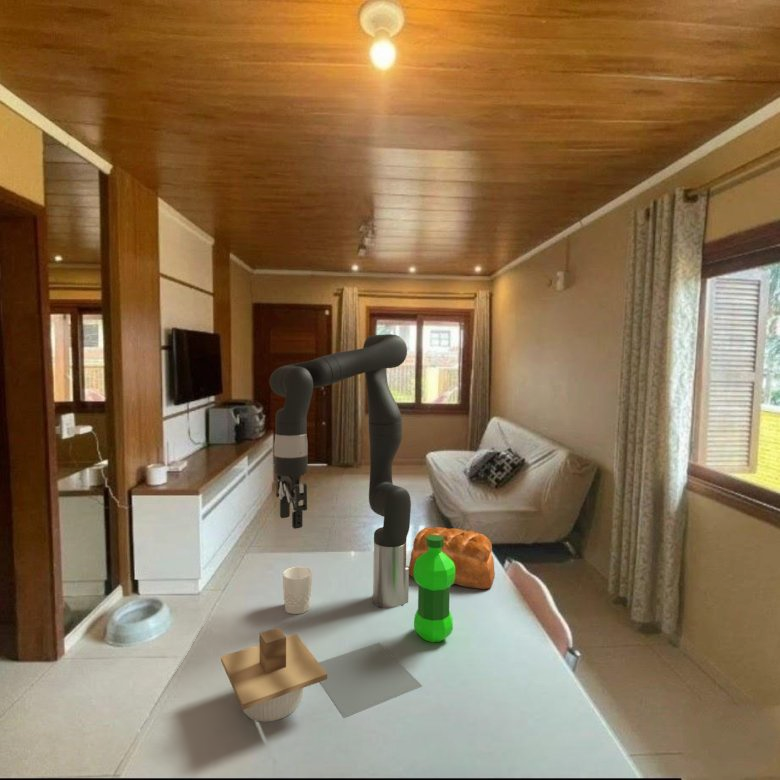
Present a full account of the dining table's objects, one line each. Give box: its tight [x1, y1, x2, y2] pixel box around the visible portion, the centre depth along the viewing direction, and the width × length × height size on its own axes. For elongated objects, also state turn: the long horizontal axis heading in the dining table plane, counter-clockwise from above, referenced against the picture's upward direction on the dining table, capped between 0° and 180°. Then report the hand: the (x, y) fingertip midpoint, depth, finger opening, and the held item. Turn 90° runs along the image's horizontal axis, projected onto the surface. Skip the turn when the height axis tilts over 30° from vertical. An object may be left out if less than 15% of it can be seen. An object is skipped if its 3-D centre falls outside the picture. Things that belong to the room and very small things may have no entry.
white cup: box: [282, 566, 313, 615], centre depth 131 cm, size 8×8×10 cm
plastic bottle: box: [413, 535, 455, 643], centre depth 117 cm, size 10×10×25 cm
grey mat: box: [318, 642, 423, 719], centre depth 102 cm, size 18×18×1 cm
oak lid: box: [220, 627, 327, 711], centre depth 93 cm, size 16×16×7 cm
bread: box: [408, 526, 496, 590], centre depth 152 cm, size 14×26×16 cm, turn 72°
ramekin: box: [242, 687, 305, 723], centre depth 94 cm, size 13×13×7 cm
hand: (290, 522), depth 111 cm, fingers open, 8 cm apart
